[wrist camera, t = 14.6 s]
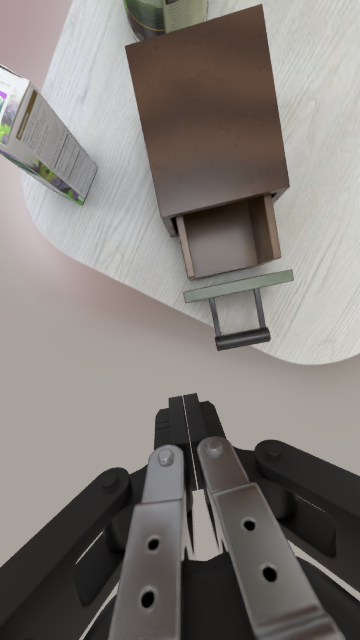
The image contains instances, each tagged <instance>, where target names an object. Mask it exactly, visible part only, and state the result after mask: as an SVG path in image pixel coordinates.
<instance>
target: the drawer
mask: <svg viewBox="0 0 360 640" xmlns="http://www.w3.org/2000/svg"><path fill="white" fill-rule="evenodd" d="M175 218H176V222H177V227H178V232H179V237H180V242H181V247H182V252H183V257H184V262H185V266H186V271H187V276H188V278H189V280H192V279H197V278H202V277H206V276H211V275H216V274H220V273H225V272H230V271H234V270H239V269H243V268H248V267H253V266H257V265H262V264H265V263H268V262H271V261H273V260H276V259H279V258H281V252H280V246H279V240H278V234H277V227H276V221H275V215H274V209H273V202H272V196H271V194H268V195H264V196H260V197H256V198H251V199H247V200H243V201H239V202H235V203H231V204H226V205H222V206H218V207H214V208H210V209H206V210H201V211H197V212H193V213H189V214H185V215H181V216H176V217H175ZM290 281H294V278H293V271H292V269H291V270H286V271H281V272H276V273H270V274H266V275H261V276H256V277H252V278H247V279H242V280H237V281H233V282H228V283H223V284H219V285H214V286H209V287H204V288H200V289H195V290H190V291H186V292H183V294H184V299H185V303H189V302H193V301H198V300H203V299H208V298H209V302H210V307H211V312H212V317H213V322H214V327H215V332H216V336H217V337H215V341H216V346H217V350H218V351H220V350H225V349H231V348H236V347H241V346H246V345H252V344H257V343H263V342H268V341H270V339H271V338H270V332H269V329H268V328H267V327H266V325H265V319H264V314H263V308H262V302H261V296H260V290H259V288H261V287H266V286H271V285H275V284H280V283H285V282H290ZM251 289H253V291H254V296H255V302H256V308H257V313H258V319H259V325H260V328H258V329H253V330H248V331H243V332H237V333H232V334H227V335H222V336H221V332H220V326H219V321H218V316H217V311H216V306H215V301H214V297H218V296H222V295H227V294H232V293H237V292H242V291H246V290H251Z"/></svg>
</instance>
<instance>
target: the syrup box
mask: <svg viewBox="0 0 360 640" xmlns="http://www.w3.org/2000/svg"><path fill="white" fill-rule="evenodd" d="M0 154H1V155H3V156H4V157H5V158H7V159H8V160H10V161H11V162H12V163H14V164H15V165H17V166H18V167H19V168H21V169H22V170H23V171H25V172H26V173H28V174H29V175H30V176H32V177H33V178H35V179H36V180H38V181H39V182H41V183H42V184H43V185H45V186H46V187H48V188H50V189H51V190H53V191H55V192H57V193H58V194H60V195H62V196H64V197H66V198H68V199H70V200H72V201H74V202H76V203H78V204H80V205H82V204H83V202H84V200H85V197H86V195H87V193H88V190H89V188H90V185H91V183H92V180H93V178H94V175H95V173H96V170H97V166H96V164H95V163H94V162H93V161H92V159H91V158H90V157H89V155H88V154H87V153H86V151H85V150H84V149H83V148H82V146H81V145H80V144H79V143H78V141H77V140H76V139H75V137H74V136H73V135H72V134H71V132H70V131H69V130H68V128H67V127H66V126H65V125H64V123H63V122H62V121H61V119H60V118H59V117H58V116H57V114H56V113H55V112H54V110H53V109H52V108H51V107H50V105H49V104H48V103H47V101H46V100H45V99H44V98H43V96H42V95H41V94H40V93H39V91H38V90H37V89H36V87H35V86H34V85H33V84H32V82H31V81H30V80H28V79H26V78H24V77H21V76H20V75H18V74H16V73H14V72H13V71H11V70H9V69H8V68H6V67H4V66H2V65H0Z"/></svg>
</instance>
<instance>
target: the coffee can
mask: <svg viewBox="0 0 360 640" xmlns="http://www.w3.org/2000/svg"><path fill="white" fill-rule="evenodd" d="M123 2H124V6H125V10H126V14H127V20H128V24H129V28H130V30H131V33H132V35H133V36H134V38H135V40H136V41H137V42H140V41H143V40H146V39H150V38H153V37H156V36H159V35H162V34H166V33H169V32H172V31H175V30H179V29H182V28H185V27H188V26H192V25H195V24H198V23H201V22H205V21H206V17H207V10H208V1H207V0H123Z"/></svg>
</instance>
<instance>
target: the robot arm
mask: <svg viewBox="0 0 360 640" xmlns="http://www.w3.org/2000/svg"><path fill="white" fill-rule="evenodd" d="M183 397H184V404H185V410H186V416H187V422H188V427H187V422H186V416H185V410H184V404H183V399H182V396H177V397H172V398H169V408H166V409H160V411H159V412H158V413H157V415H156V420H155V439H154V451H153V452H152V454H151V455H150V457H149V460H148V464H147V465H146V466H145V467H143V468H142V469H140V470H138V471H136V472H134V473H132V474H129V473H128V472H127V470H125V469H123V468H119V467H116V468H111V469H108V470H107V471H104V472H103V473H101V474H100V475H99V476H98V477H97V478H96V479H95V480H93V481H92V482H91V483H90V484H89V485H88V486H87V487H86V488H85V489H84V490H83V491H82V492H81V493H80V494H79V495H78V496H76V497H75V498H74V499H73V500H72V501H71V502H70V503H69V504H68V505H67V506H66V507H65V508H64V509H62V510H61V512H59V513H58V514H57V515H56V516H55V517H54V518H53V519H52V520H51V521H50V522H49V523H47V524H46V525H45V526H44V527H43V528H42V529H41V530H40V531H39V532H38V533H37V534H36V535H35V536H34V537H33V538H32V539H30V540H29V541H28V542H27V543H26V544H25V545H24V546H23V547H22V548H21V549H20V550H19V551H18V552H17V553H15V554H14V556H12V557H11V558H10V559H9V560H8V561H7V562H6V563H5V564H4V565H3V566H2V567H0V640H79V639H80V637H81V636H82V634H83V633H84V631H85V630H86V628H87V627H88V625H89V624H90V622H91V621H92V620H93V618H94V617H95V615H96V613H97V612H98V611H99V609H100V608H101V606H102V605H103V603H104V602H105V600H106V599H107V597H108V596H109V595H110V593H111V592H112V590H113V589H114V587H115V586H116V584H117V583H118V582H119V586H118V591H117V594H116V595H115V596H114V597H113V598H112V599H111V600H110V602H108V604H107V605H106V606H105V608H104V609H103V610H102V611H101V613H100V614H99V616H98V617H97V619H96V620H95V622H94V624H93V625H92V627H91V628H90V630H89V631H88V633H87V634H86V636H85V637H84V639H83V640H360V601H359V600H357V599H356V598H355V597H354V596H352V595H351V594H350V593H349V592H347V591H346V590H345V589H344V588H342V587H341V586H340V585H338V584H337V583H336V582H335V581H334V580H332V579H331V578H330V577H329V576H327V575H326V574H325V573H324V572H322V571H321V570H320V569H318V568H317V567H315V566H314V565H312V564H310V563H309V562H307V561H305V560H303V559H301V558H299V557H297V556H295V554H294V552H293V550H292V548H291V547H290V545H289V543H288V541H287V539H288V540H289V541H290V542H292V543H293V544H294V545H296V546H297V547H298V548H300V549H301V550H302V551H304V552H305V553H307V554H308V555H309V556H311V557H312V558H313V559H315V560H316V561H317V562H319V563H320V564H321V565H323V566H324V567H326V568H327V569H328V570H330V571H331V572H332V573H334V574H335V575H337V576H338V577H339V578H340V579H342V580H343V581H345V582H346V583H347V584H349V585H350V586H351V587H353V588H354V589H355V590H357V591H358V592H360V476H358V475H356V474H353V473H351V472H349V471H347V470H344V469H342V468H340V467H338V466H336V465H333V464H331V463H329V462H326V461H324V460H322V459H320V458H318V457H315V456H313V455H311V454H309V453H306V452H304V451H302V450H299V449H297V448H295V447H293V446H290V445H288V444H286V443H284V442H281V441H278V440H264V441H262V442H260V443H259V444H257V446H256V447H255V451H251V450H242V449H238V448H236V447H234V446H232V445H231V443H230V442H229V441H228V440H227V439H226V436H225V433H224V431H223V428H222V425H221V423H220V420H219V417H218V414H217V412H216V409H215V407H214V405H213V404H211V403H210V402H209V401H205V402H199V400H198V396H197V393H194V394H188V395H183ZM188 429H189V434H188ZM189 436H190V440H189ZM190 441H191V448H192V453H191V448H190ZM192 454H193V459H194V465H195V471H196V476H197V482H198V489H199V490H200V489H204V495H205V500H206V507H207V511H208V515H209V519H210V523H211V527H212V530H213V534H214V538H215V542H216V546H217V550H218V553H219V555H218V556H216V557H214V558H212V559H210V560H208V561H196V554H195V553H196V552H195V532H194V511H193V495H192V491H195V490H197V486H196V480H195V473H194V467H193V460H192ZM298 496H299V497H298ZM301 498H302V499H301ZM303 499H304V500H303ZM305 500H306V501H307V502H306V501H305ZM308 502H309V503H308ZM310 503H311V504H310ZM312 504H313V505H314V506H313V505H312ZM315 506H316V507H315ZM317 507H318V508H320V509H321V510H320V509H318V508H317ZM322 510H323V511H324V512H323V511H322ZM101 532H103V533H102V534H101V536H100V537H99V538H98V539H97V540H96V541H95V543H94V544H93V545H92V546H91V547H90V548H89V550H88V551H87V552H86V553H85V555H84V556H83V557H82V558H81V559H80V560H79V562H78V563H77V564H76V562H77V561H78V559H79V558H80V556H81V555H82V554H83V553H84V552H85V550H86V549H87V548H88V547H89V546H90V545H91V543H92V542H93V541H94V540H95V539H96V537H98V535H99V534H100V533H101ZM75 564H76V565H75ZM119 580H120V581H119Z"/></svg>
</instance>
